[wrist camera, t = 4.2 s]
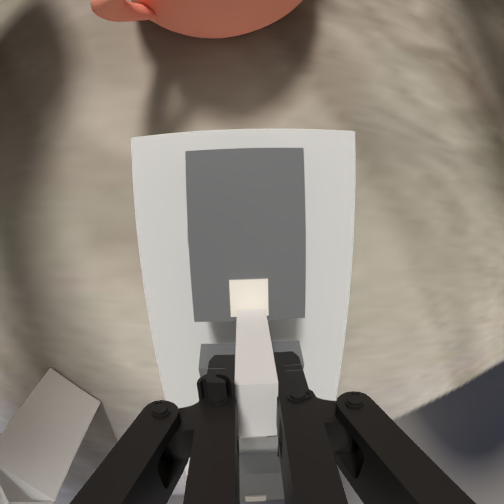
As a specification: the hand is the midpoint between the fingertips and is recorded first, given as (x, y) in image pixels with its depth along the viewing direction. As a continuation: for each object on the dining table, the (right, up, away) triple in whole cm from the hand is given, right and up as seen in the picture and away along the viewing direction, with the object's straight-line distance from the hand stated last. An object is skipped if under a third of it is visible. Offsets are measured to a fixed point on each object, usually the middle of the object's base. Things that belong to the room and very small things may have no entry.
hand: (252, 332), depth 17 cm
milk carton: (-22, -13, +14) cm, 29 cm away
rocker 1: (0, +5, +1) cm, 5 cm away
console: (0, -3, +12) cm, 12 cm away
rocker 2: (0, -16, +7) cm, 17 cm away
